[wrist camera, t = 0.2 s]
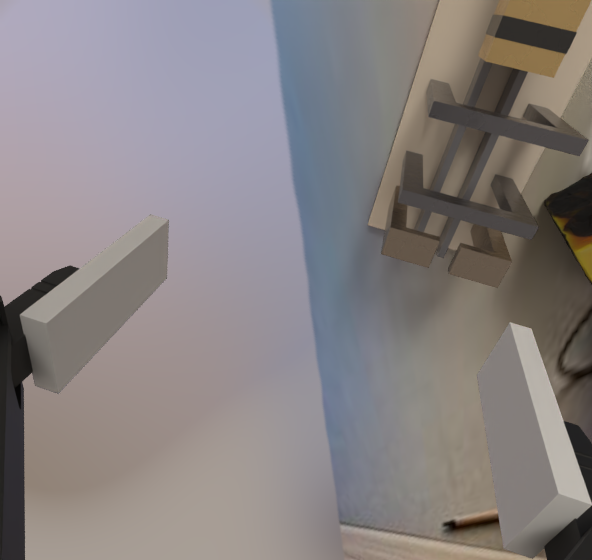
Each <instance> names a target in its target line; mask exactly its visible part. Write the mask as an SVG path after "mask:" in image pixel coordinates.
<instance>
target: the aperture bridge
mask: <svg viewBox="0 0 592 560" xmlns="http://www.w3.org/2000/svg"><path fill="white" fill-rule="evenodd" d="M399 189H400V186H397V185H396V187H395V190H394V193H393V196H392V199H391V202H390V205H389V208H388V213H387V219H386V226H385V232H384V238H383V245H382V251H381V254H383V255H386V256H390V257H393V258H396V259H400V260H403V261H407V262H410V263H414V264H417V265H421V266H424V267H427V268H429V265H430V263H431V261H432V258H433V256H434V254H435V252H436V249H437V247H438V245H439V242H440V237H439V236H435V235H432V234H428V233H425V232H421V231H418V230H414V229H410V228H407V227H406V224H407V208H408V205H405V204H401V203H398V198H399ZM470 232H471V237H472V241H473V246H470V245H467V244H463V243H460V244H459V246H458V249H457V251H456V253H455V255H454V257H453V259H452V261H451V263H450V266H449V268H448V272H449V274H451V275H455V276H458V277H462V278H465V279H469V280H472V281H476V282H479V283H482V284H486V285H489V286H493V287H496V288H498V286H499V284H500V282H501V281H502V279H503V277H504V275H505V274H506V272H507V270H508V268H509V267H510V265H511V263H512V260H511V257H510V255H509V252H508V249H507V246H506V244H505V241H504V238H503V235H502V233H501V231H498V230H495V229H491V228H487V227H484V226H480V225H477V224H473V226H472V229H471V231H470Z"/></svg>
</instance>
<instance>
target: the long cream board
mask: <svg viewBox="0 0 592 560" xmlns="http://www.w3.org/2000/svg"><path fill="white" fill-rule="evenodd" d="M498 2H499V0H439V3H438V6H437V9H436V12H435V16H434V19H433V22H432V25H431V28H430V31H429V34H428V37H427V41H426V44H425V47H424V50H423V53H422V56H421V59H420V62H419V65H418V69H417V72H416V75H415V78H414V81H413V84H412V87H411V90H410V94H409V97H408V100H407V103H406V106H405V109H404V112H403V115H402V118H401V122H400V125H399V128H398V131H397V134H396V137H395V140H394V143H393V147H392V150H391V153H390V156H389V159H388V162H387V165H386V168H385V172H384V175H383V178H382V181H381V184H380V187H379V190H378V193H377V196H376V200H375V203H374V206H373V209H372V212H371V215H370V218H369V221H368V225H369V226H372V227H376V228H379V229H383V230H385V226H386V219H387V213H388V208H389V205H390V202H391V199H392V196H393V193H394V190H395V187H396V185H397V186H400V180H401V171H402V163H403V159H404V156H405V153H406V150H407V151H410V152H414V153H418V154H422V155H423V188H425V189H429V190H432V191H436V192H439V193H443V194H447V195H450V196H454V197H458V198H461V199H465V200H469V201H472V202H476V203H480V204H483V205H487V206H491V207H494V208H498V209H500V208H499V205H498V203H497V200H496V198H495V195H494V193H493V190H492V187H491V182H492V180H493V178H494V176H495V174H497V175H500V176H504V177H508V178H512V179H513V181H514V182H515V184H516V186H517V188H518V190H519V192H520V193H522V191H523V189H524V187H525V185H526V183H527V181H528V179H529V178H530V176H531V174H532V172H533V170H534V168H535V166H536V164H537V162H538V160H539V158H540V156H541V155H542V153H543V151H544V149H545V147H542V146H538V145H535V144H531V143H527V142H523V141H519V140H515V139H511V138H507V137H504V136H500V135H496V134H492V133H488V132H484V131H480V130H476V129H473V128H469V127H465V126H461V125H457V124H453V123H449V122H445V121H442V120H438V119H434V118H430V117H428V108H427V94H426V91H427V88H428V85H429V82H430V79H433V80H437V81H441V82H445V83H449V85H450V88H451V90H452V93H453V96H454V98H455V101H456V103H460V104H464V105H468V106H472V107H476V108H480V109H484V110H488V111H492V112H496V113H500V114H504V115H508V116H511V117H515V118H519V119H523V120H526V119H525V118H524V117H523V115H524V113H525V111H526V109H527V106H528V104H533V105H537V106H541V107H545V108H548V109H550V110H551V111H552V112H553V113H555V114H556V115H557V116H559V117H560V118H561V116H562V114H563V112H564V110H565V109H566V107H567V105H568V103H569V101H570V99H571V97H572V95H573V93H574V91H575V89H576V87H577V86H578V84H579V82H580V80H581V78H582V76H583V74H584V72H585V70H586V68H587V66H588V64H589V63H590V61H591V59H592V1H591V3H590V5H589V7H588V9H587V11H586V13H585V15H584V17H583V19H582V21H581V23H580V25H579V27H578V29H577V31H576V32H577V34H576V36H575V38H574V40H573V42H572V44H571V46H570V48H569V50H568V52H567V54H565V56H564V58H563V60H562V62H561V64H560V66H559V68H558V70H557V72H556V74H555V77H554V78H552V77H548V76H544V75H539V74H535V73H531V72H527V71H523V70H519V69H515V68H511V67H507V66H502V65H498V64H494V63H490V62H486V61H484V60H483V59H482V58H481V57H479V56H478V54H479V51H480V49H481V46H482V44H483V41H484V39H485V36H486V31H487V29H488V26H489V23H490V21H491V18H492V16H493V15H494V13H495V10H496V7H497V5H498ZM472 226H473V223H469V222H466V221H462V220H459V219H455V218H451V217H448V216H444V215H441V214H437V213H434V212H430V211H426V210H423V209H419V208H416V207H412V206H408V208H407V224H406V227H407V228H410V229H414V230H418V231H421V232H425V233H428V234H432V235H435V236H439V237H440V242H439V245H438V247H437V256H438V257H442V258H444V256H445V254H446V251H447V249H448V248H450V249H453V250H457V249H458V246H459V244H460V243H463V244H467V245H470V246H473V241H472V237H471V232H470V231H471V229H472Z"/></svg>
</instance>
